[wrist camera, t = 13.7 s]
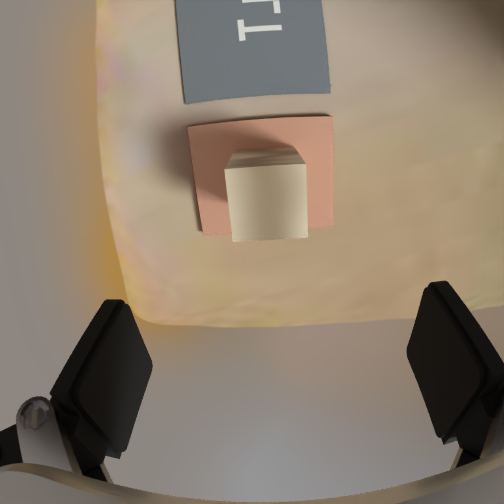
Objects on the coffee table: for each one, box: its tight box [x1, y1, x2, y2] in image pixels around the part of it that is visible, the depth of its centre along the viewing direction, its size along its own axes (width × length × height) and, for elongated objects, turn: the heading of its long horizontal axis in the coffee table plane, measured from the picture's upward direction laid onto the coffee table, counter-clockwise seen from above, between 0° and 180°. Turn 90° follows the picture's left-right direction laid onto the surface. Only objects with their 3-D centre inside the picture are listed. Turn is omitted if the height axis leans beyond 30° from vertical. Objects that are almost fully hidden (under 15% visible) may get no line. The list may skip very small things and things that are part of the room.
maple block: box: [224, 147, 308, 242], centre depth 23 cm, size 5×5×7 cm
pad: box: [187, 116, 334, 236], centre depth 26 cm, size 12×10×1 cm
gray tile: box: [176, 0, 330, 104], centre depth 20 cm, size 12×12×1 cm
